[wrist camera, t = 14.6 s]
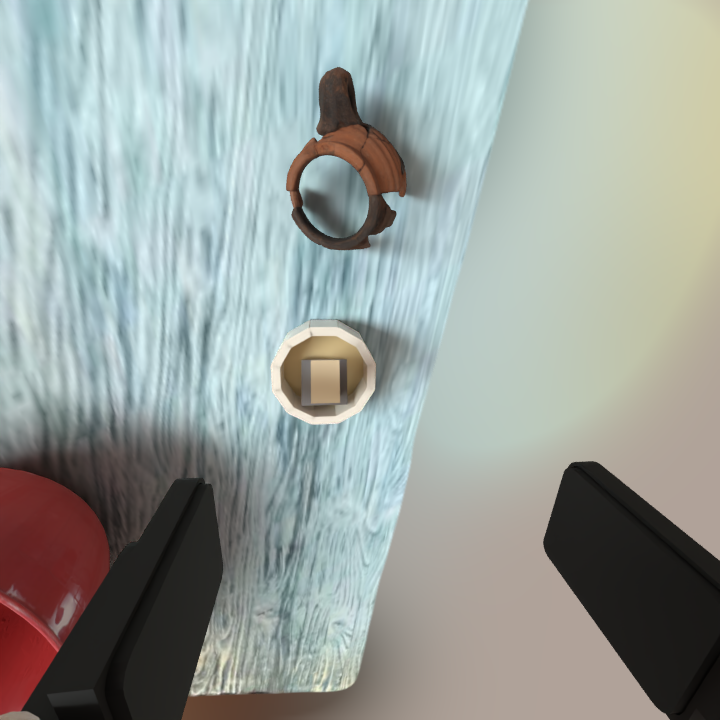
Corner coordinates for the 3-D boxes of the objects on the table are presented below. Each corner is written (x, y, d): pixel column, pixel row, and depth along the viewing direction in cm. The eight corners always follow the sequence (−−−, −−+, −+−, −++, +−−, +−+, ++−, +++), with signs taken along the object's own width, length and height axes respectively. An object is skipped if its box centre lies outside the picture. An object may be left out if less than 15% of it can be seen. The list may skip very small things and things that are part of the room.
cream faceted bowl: (273, 319, 32) (268, 327, 29) (371, 319, 33) (377, 327, 30) (278, 409, 35) (274, 425, 32) (368, 406, 36) (373, 422, 33)
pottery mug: (420, 223, 31) (403, 251, 25) (329, 239, 35) (294, 268, 28) (397, 56, 25) (367, 37, 18) (289, 97, 28) (233, 92, 22)
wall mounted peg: (301, 360, 33) (293, 350, 23) (345, 360, 34) (356, 350, 24) (302, 404, 33) (293, 414, 23) (346, 403, 33) (357, 412, 23)
